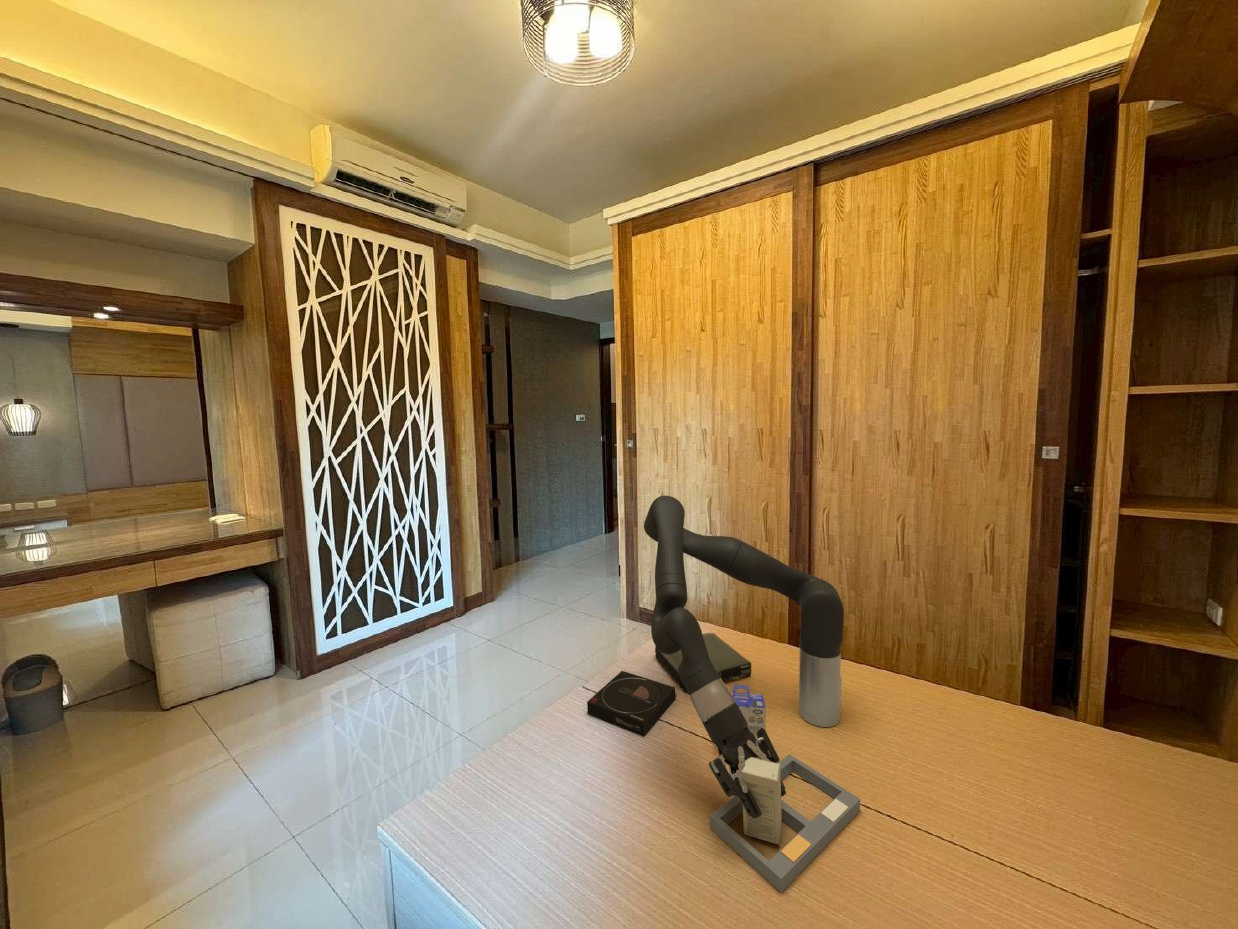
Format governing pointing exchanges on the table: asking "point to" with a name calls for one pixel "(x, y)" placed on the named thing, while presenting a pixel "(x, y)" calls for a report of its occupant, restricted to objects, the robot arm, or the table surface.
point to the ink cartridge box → (751, 708)
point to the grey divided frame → (809, 835)
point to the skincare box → (764, 799)
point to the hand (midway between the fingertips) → (769, 805)
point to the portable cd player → (631, 702)
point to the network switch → (720, 655)
